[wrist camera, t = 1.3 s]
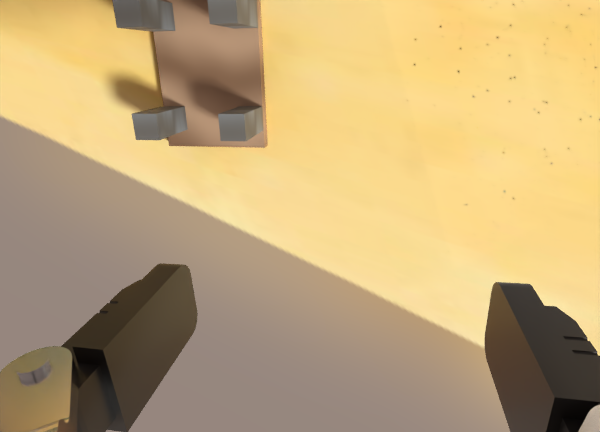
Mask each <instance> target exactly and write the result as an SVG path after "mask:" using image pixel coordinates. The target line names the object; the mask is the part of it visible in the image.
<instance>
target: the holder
mask: <svg viewBox="0 0 600 432" xmlns="http://www.w3.org/2000/svg"><path fill="white" fill-rule="evenodd" d="M112 1H113V6H114V12H115V18H116V24H117V28H125V29H134V30H143V31H153V34H154V41H155V48H156V55H157V62H158V69H159V76H160V84H161V91H162V98H163V105H164V106H163V107H159V108H154V109H150V110H146V111H141V112H137V113H133V114H132V118H133V124H134V130H135V136H136V140H161V139H164V138H167V137H168V140H169V146H208V147H264V148H265V147H266V146H267V125H266V105H265V86H264V66H263V46H262V26H261V6H260V0H112Z"/></svg>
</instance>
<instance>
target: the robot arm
mask: <svg viewBox="0 0 600 432" xmlns="http://www.w3.org/2000/svg"><path fill="white" fill-rule="evenodd" d="M196 323H197V308H196V302H195V297H194V290H193V285H192V279H191V273H190V270H189V268H188V267H187V266H186V265H179V264H158V265H157V266H156V267H154V268H153V269H152V270H151V271H150V272H149V273H148V274H147V275H146V276H145V277H144V278H143V279H142V280H139V281H137V282H135V283H133V284H131V285H130V286H128V287H126V288H124V289H122V290H121V291H120V292H119V293H118V294H117V295H116V296H115V297H114V298H113V299H112V300H111V301H110V303H107V304H106V305H105V306H104V307H103V308H102V309H101V310H100V313H97V314H96V315H94V316H93V317H92V318H91V319H90V320H89V321H88V322H87V323H86V324H85V325H84V326H83V327H82V328H80V329H79V330H78V331H77V332H76V333H75V334H74V335H73V336H72V337H71V338H70V339H69V340H68V341H66V342H65V343H64V344H63V345H62V346H61V347H58V346H53V347H45V348H41V349H37V350H34V351H31V352H29V353H26V354H24V355H22V356H20V357H18V358H17V359H16V360H14V361H12V362H11V363H9V364H8V365H7V366H6V367H5V368H3V369H2V371H1V372H0V432H105V431H106V430H114V431H121V432H128V431H129V429H130V428H131V426H132V424H133V423H134V422H135V420H136V419H137V417H138V416H139V414H140V413H141V411H142V409H143V408H144V407H145V405H146V403H147V402H148V401H149V399H150V398H151V396H152V394H153V393H154V391H155V390H156V388H157V387H158V385H159V384H160V382H161V381H162V379H163V378H164V376H165V375H166V373H167V372H168V370H169V369H170V367H171V366H172V364H173V363H174V361H175V360H176V358H177V357H178V355H179V354H180V352H181V351H182V349H183V348H184V346H185V345H186V343H187V342H188V340H189V339H190V337H191V336H192V334H193V332H194V330H195V327H196ZM485 353H486V359H487V362H488V365H489V368H490V371H491V374H492V377H493V380H494V383H495V386H496V389H497V392H498V395H499V398H500V401H501V404H502V408H503V410H504V413H505V416H506V420H507V423H508V426H509V428H510V432H600V356H598V355H597V351H596V349H595V348H594V347H593V345H592V344H591V342H590V341H587V337H586V335H585V334H584V332H583V331H582V330H581V328H580V327H579V325H578V324H577V322H576V321H575V320H573V319H572V318H571V317H569V316H568V315H566V314H565V313H564V312H562V311H561V310H560V309H558V308H557V307H554V306H544V305H543V303H542V301H541V300H540V298H539V297H538V295H537V293H536V292H535V290H534V289H533V287H532V286H531V285H530V284H520V283H501V282H496V283H494V285H493V288H492V292H491V299H490V306H489V312H488V319H487V325H486V332H485Z"/></svg>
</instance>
